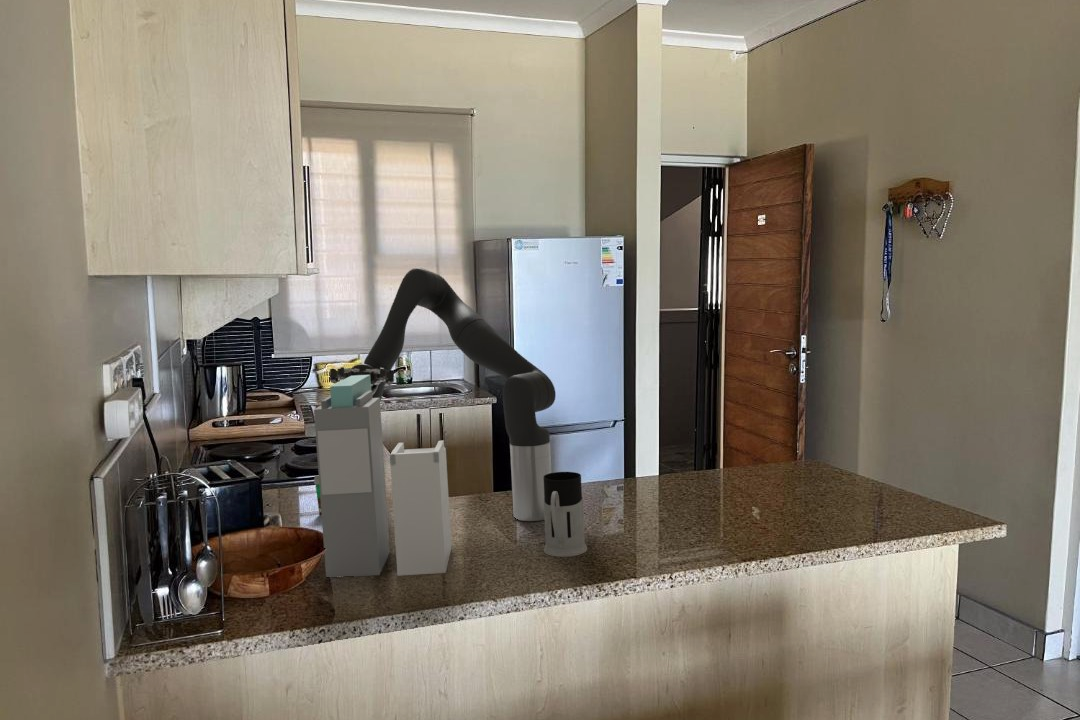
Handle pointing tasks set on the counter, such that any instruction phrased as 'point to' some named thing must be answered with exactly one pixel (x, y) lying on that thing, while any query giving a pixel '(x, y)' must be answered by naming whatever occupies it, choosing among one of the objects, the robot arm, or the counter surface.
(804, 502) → the counter surface
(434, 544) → the white open box
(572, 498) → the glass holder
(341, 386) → the teal square bar
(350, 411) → the tall grey pillar
